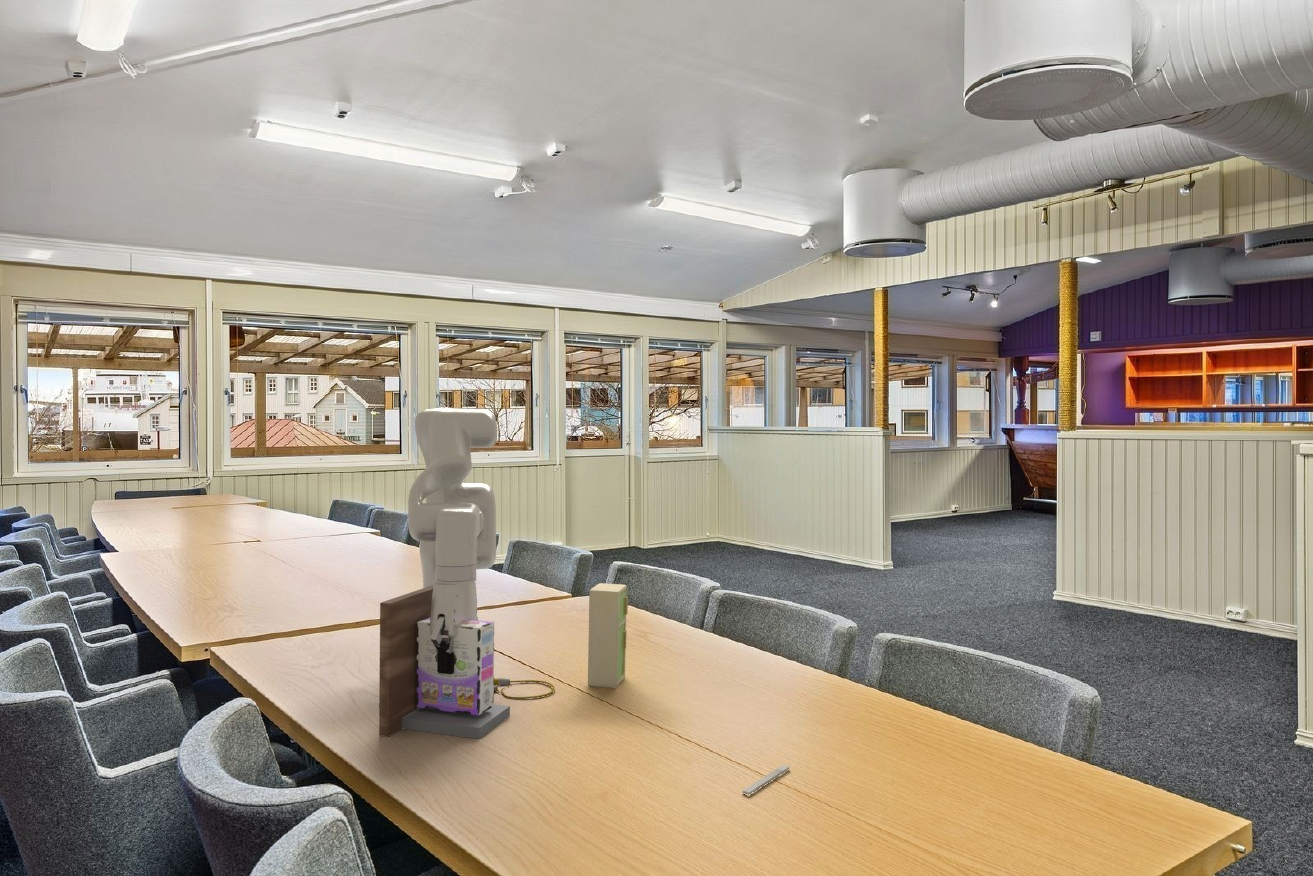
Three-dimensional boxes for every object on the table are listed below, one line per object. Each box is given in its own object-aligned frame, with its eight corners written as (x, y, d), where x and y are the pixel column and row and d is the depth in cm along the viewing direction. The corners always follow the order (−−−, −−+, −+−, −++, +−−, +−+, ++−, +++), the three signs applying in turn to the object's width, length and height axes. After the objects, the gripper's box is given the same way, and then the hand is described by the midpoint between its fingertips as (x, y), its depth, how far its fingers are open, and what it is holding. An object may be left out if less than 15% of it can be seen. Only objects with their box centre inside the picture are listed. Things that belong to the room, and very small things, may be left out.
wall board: (379, 735, 146) (380, 602, 145) (438, 700, 165) (439, 582, 165) (388, 736, 145) (389, 603, 145) (447, 701, 164) (448, 583, 164)
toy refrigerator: (620, 689, 173) (621, 591, 173) (587, 686, 175) (588, 589, 175) (628, 677, 181) (630, 584, 181) (597, 675, 183) (598, 582, 182)
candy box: (495, 707, 153) (496, 620, 153) (478, 717, 148) (479, 627, 148) (432, 698, 158) (433, 614, 158) (414, 707, 152) (415, 620, 152)
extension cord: (515, 678, 182) (515, 669, 182) (566, 692, 172) (566, 683, 172) (472, 691, 172) (472, 682, 172) (524, 707, 163) (524, 698, 163)
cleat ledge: (401, 728, 149) (401, 718, 149) (436, 707, 161) (436, 697, 161) (479, 739, 145) (479, 728, 145) (509, 716, 156) (509, 706, 156)
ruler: (748, 799, 123) (748, 792, 123) (742, 797, 124) (742, 790, 124) (789, 772, 133) (789, 766, 133) (783, 770, 134) (783, 764, 134)
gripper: (461, 564, 162) (460, 654, 162) (412, 580, 145) (411, 680, 146) (495, 566, 160) (494, 657, 160) (449, 583, 143) (448, 684, 143)
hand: (455, 667), depth 153 cm, fingers closed on candy box, 6 cm apart
